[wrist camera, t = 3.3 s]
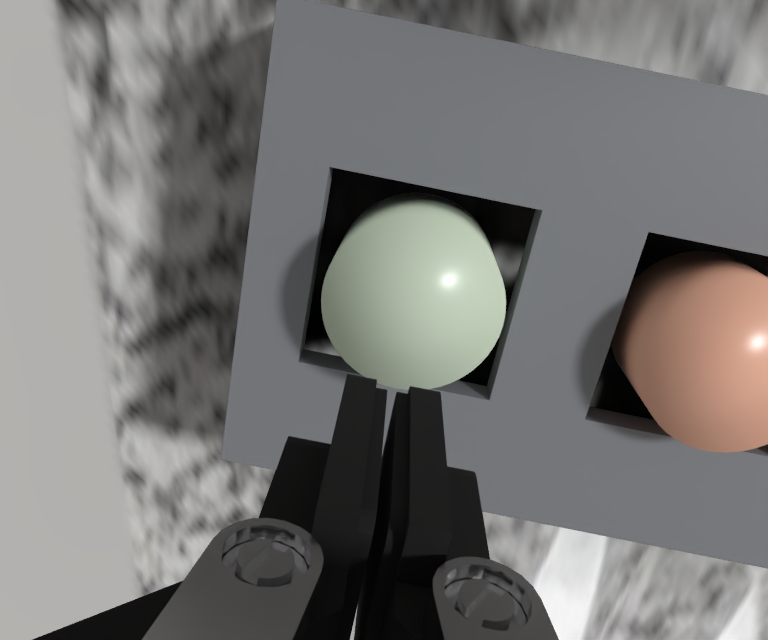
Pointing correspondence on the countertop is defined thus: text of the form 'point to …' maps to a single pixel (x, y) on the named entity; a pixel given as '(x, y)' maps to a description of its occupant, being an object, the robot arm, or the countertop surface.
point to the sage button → (414, 293)
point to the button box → (538, 265)
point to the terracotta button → (699, 349)
